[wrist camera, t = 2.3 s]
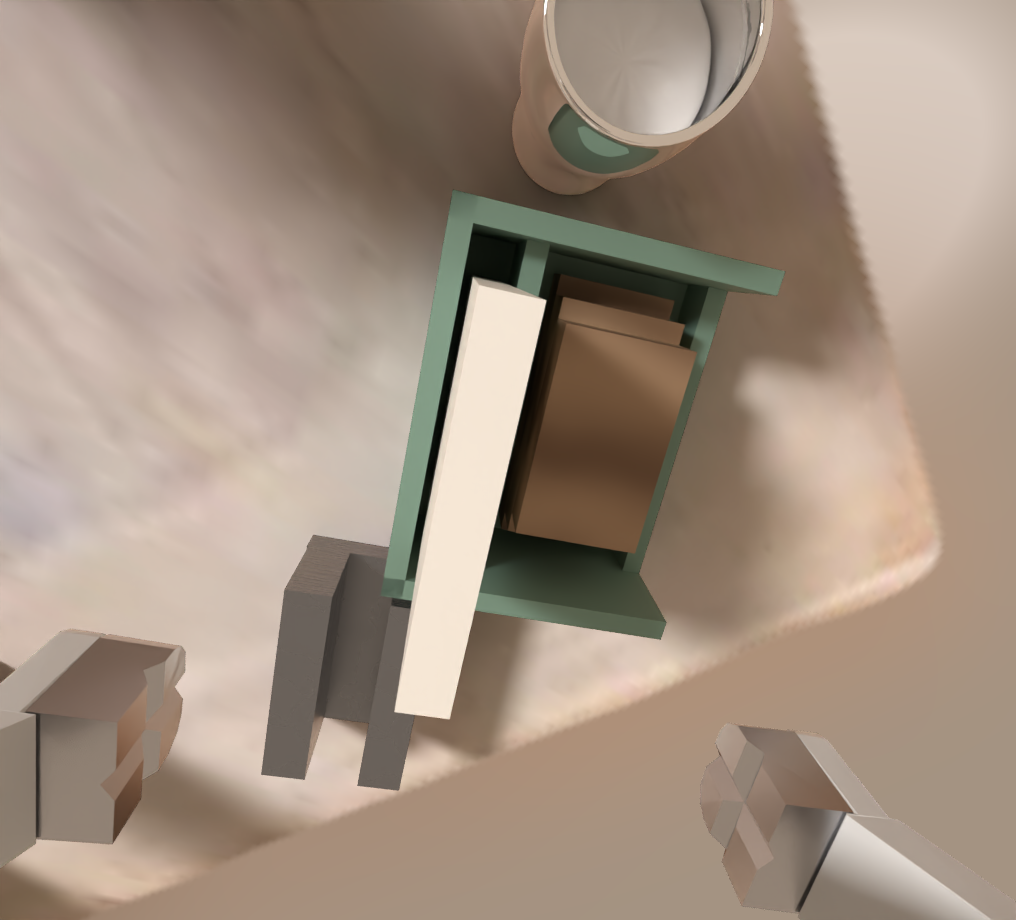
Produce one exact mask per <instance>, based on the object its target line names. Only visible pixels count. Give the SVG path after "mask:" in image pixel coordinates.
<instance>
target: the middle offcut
mask: <svg viewBox="0 0 1016 920" xmlns="http://www.w3.org/2000/svg"><path fill="white" fill-rule="evenodd" d="M558 319H563V320H567V321H572V322H576V323H581V324H585V325H590V326H594V327H599V328H603V329H607V330H612V331H616V332H621V333H625V334H630V335H634V336H639V337H643V338H648V339H652V340H657V341H661V342H666V343H670V344H675V345H679V344H680V340H681V337H682V334H683V330H684V327H685V325H684V324H681V323H677V322H673V321H669V320H665V319H661V318H656V317H652V316H648V315H643V314H639V313H634V312H630V311H626V310H621V309H617V308H613V307H608V306H604V305H599V304H595V303H591V302H586V301H582V300H578V299H573V298H569V297H565V296H560V295H556V297H555V302H554V306H553V310H552V314H551V319H550V323H549V327H548V331H547V336H546V340H545V344H544V348H543V353H542V357H541V361H540V365H539V370H538V374H537V378H536V382H535V387H534V391H533V395H532V399H531V404H530V408H529V412H528V416H527V421H526V425H525V429H524V433H523V438H522V442H521V446H520V451H519V455H518V459H517V463H516V468H515V472H514V476H513V480H512V485H511V489H510V493H509V497H508V502H507V506H506V510H505V517H506V523H507V529H508V531H512V532H515V527H514V522H513V516H512V511H513V507H514V502H515V498H516V494H517V490H518V486H519V481H520V477H521V473H522V469H523V465H524V461H525V456H526V452H527V448H528V444H529V440H530V435H531V431H532V427H533V423H534V419H535V414H536V410H537V406H538V402H539V398H540V394H541V389H542V385H543V381H544V377H545V373H546V368H547V364H548V360H549V356H550V352H551V348H552V343H553V339H554V335H555V331H556V327H557V322H558Z"/></svg>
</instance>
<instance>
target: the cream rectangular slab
mask: <svg viewBox="0 0 1016 920" xmlns="http://www.w3.org/2000/svg"><path fill="white" fill-rule="evenodd" d="M545 304H546V300H544V299H542V298H540V297H537V296H535V295H532V294H530V293H527V292H525V291H523V290H520V289H518V288H515V287H513V286H511V285H508V284H506V283H503V282H501V281H497V280H492V279H488V278H484V277H479V276H475V275H471V279H470V284H469V289H468V294H467V299H466V304H465V310H464V315H463V320H462V325H461V330H460V335H459V341H458V346H457V351H456V356H455V361H454V366H453V372H452V377H451V382H450V387H449V392H448V397H447V403H446V408H445V413H444V418H443V423H442V428H441V434H440V439H439V444H438V449H437V454H436V459H435V464H434V470H433V475H432V480H431V485H430V492H429V498H428V504H427V510H426V517H425V523H424V529H423V535H422V542H421V548H420V554H419V561H418V567H417V573H416V579H415V586H414V592H413V598H412V604H411V611H410V617H409V623H408V629H407V636H406V642H405V648H404V654H403V661H402V667H401V673H400V680H399V686H398V692H397V698H396V705H395V711H394V712H398V713H405V714H413V715H420V716H428V717H436V718H443V719H450V715H451V711H452V707H453V702H454V698H455V694H456V689H457V685H458V681H459V676H460V672H461V668H462V663H463V659H464V655H465V650H466V646H467V642H468V637H469V633H470V629H471V624H472V620H473V616H474V611H475V607H476V603H477V598H478V594H479V590H480V586H481V581H482V577H483V573H484V568H485V564H486V560H487V555H488V551H489V547H490V542H491V538H492V534H493V529H494V525H495V521H496V516H497V512H498V508H499V503H500V499H501V495H502V490H503V486H504V482H505V477H506V473H507V469H508V464H509V460H510V456H511V451H512V447H513V443H514V438H515V434H516V430H517V426H518V421H519V417H520V413H521V408H522V404H523V400H524V395H525V391H526V387H527V382H528V378H529V374H530V369H531V365H532V361H533V356H534V352H535V348H536V343H537V339H538V335H539V330H540V326H541V322H542V317H543V313H544V309H545Z"/></svg>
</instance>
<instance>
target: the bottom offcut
mask: <svg viewBox="0 0 1016 920" xmlns="http://www.w3.org/2000/svg"><path fill="white" fill-rule="evenodd" d="M556 295H560V296H565V297H569V298H573V299H578V300H582V301H586V302H591V303H595V304H599V305H604V306H608V307H613V308H617V309H621V310H626V311H630V312H634V313H639V314H643V315H648V316H652V317H656V318H661V319H665V320H669V318H670V315H671V312H672V308H673V305H674V300H669V299H665V298H661V297H657V296H652V295H648V294H644V293H639V292H635V291H631V290H627V289H622V288H618V287H614V286H610V285H605V284H601V283H597V282H592V281H588V280H584V279H580V278H575V277H571V276H567V275H562V274H554V277H553V281H552V285H551V290H550V294H549V298H548V302H547V307H546V311H545V315H544V320H543V324H542V328H541V333H540V337H539V341H538V346H537V350H536V354H535V358H534V363H533V367H532V371H531V376H530V380H529V384H528V389H527V393H526V397H525V402H524V406H523V410H522V415H521V419H520V423H519V427H518V432H517V436H516V440H515V445H514V449H513V453H512V458H511V462H510V466H509V471H508V475H507V479H506V484H505V488H504V492H503V496H502V501H501V505H500V509H499V518H500V525H501V529H504V530H508V529H507V523H506V517H505V510H506V506H507V502H508V497H509V493H510V489H511V485H512V480H513V476H514V472H515V468H516V463H517V459H518V455H519V451H520V446H521V442H522V438H523V433H524V429H525V425H526V421H527V416H528V412H529V408H530V404H531V399H532V395H533V391H534V387H535V382H536V378H537V374H538V370H539V365H540V361H541V357H542V353H543V348H544V344H545V340H546V336H547V331H548V327H549V323H550V319H551V314H552V310H553V306H554V302H555V297H556Z"/></svg>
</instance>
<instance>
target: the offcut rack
mask: <svg viewBox="0 0 1016 920" xmlns="http://www.w3.org/2000/svg"><path fill="white" fill-rule="evenodd" d="M554 274H562V275H567V276H571V277H575V278H580V279H584V280H588V281H592V282H597V283H601V284H605V285H610V286H614V287H618V288H622V289H627V290H631V291H635V292H639V293H644V294H648V295H652V296H657V297H661V298H665V299H669V300H674V305H673V308H672V312H671V315H670V318H669V321H673V322H677V323H681V324H684V325H685V327H684V330H683V334H682V337H681V340H680V344H679V346H682V347H684V348H687V349H690V350H692V351H695V352H697V355H696V358H695V361H694V364H693V367H692V371H691V374H690V377H689V380H688V384H687V387H686V390H685V393H684V397H683V400H682V403H681V406H680V409H679V413H678V416H677V419H676V422H675V426H674V429H673V432H672V435H671V439H670V442H669V445H668V448H667V452H666V455H665V458H664V461H663V464H662V468H661V471H660V474H659V477H658V481H657V484H656V487H655V490H654V494H653V497H652V500H651V503H650V506H649V510H648V513H647V516H646V519H645V523H644V526H643V529H642V532H641V536H640V539H639V542H638V545H637V548H636V552H635V554H634V553H629V552H623V551H617V550H611V549H606V548H600V547H594V546H588V545H583V544H577V543H571V542H566V541H560V540H554V539H548V538H543V537H537V536H531V535H525V534H520V533H516V532H512V531H508V530H504V529H501V525H500V518H499V509H500V505H501V501H502V496H503V492H504V488H505V484H506V479H507V475H508V471H509V466H510V462H511V458H512V453H513V449H514V445H515V440H516V436H517V432H518V427H519V423H520V419H521V415H522V410H523V406H524V402H525V397H526V393H527V389H528V384H529V380H530V376H531V371H532V367H533V363H534V358H535V354H536V350H537V346H538V341H539V337H540V333H541V328H542V324H543V320H544V315H545V311H546V307H547V302H548V298H549V294H550V290H551V285H552V281H553V277H554ZM784 274H785V271H781V270H777V269H773V268H769V267H765V266H761V265H757V264H753V263H749V262H745V261H741V260H737V259H733V258H729V257H725V256H720V255H716V254H712V253H708V252H704V251H700V250H696V249H692V248H688V247H684V246H680V245H676V244H672V243H668V242H664V241H660V240H656V239H652V238H647V237H643V236H639V235H635V234H631V233H627V232H623V231H619V230H615V229H611V228H607V227H603V226H599V225H595V224H591V223H587V222H583V221H578V220H574V219H570V218H566V217H562V216H558V215H554V214H550V213H546V212H542V211H538V210H534V209H530V208H526V207H522V206H518V205H514V204H510V203H505V202H501V201H497V200H493V199H489V198H485V197H481V196H477V195H473V194H469V193H465V192H461V191H457V190H453V192H452V198H451V203H450V209H449V214H448V220H447V226H446V231H445V237H444V242H443V248H442V254H441V259H440V265H439V271H438V276H437V282H436V287H435V293H434V299H433V304H432V310H431V315H430V321H429V327H428V332H427V338H426V343H425V349H424V355H423V360H422V366H421V372H420V377H419V383H418V388H417V394H416V400H415V405H414V411H413V416H412V422H411V428H410V433H409V439H408V444H407V450H406V456H405V461H404V467H403V473H402V478H401V484H400V489H399V495H398V501H397V506H396V512H395V517H394V523H393V529H392V534H391V540H390V545H389V551H388V557H387V562H386V568H385V574H384V579H383V585H382V590H381V596H385V597H391V598H398V599H404V600H410V601H412V598H413V592H414V586H415V579H416V573H417V567H418V561H419V554H420V548H421V542H422V535H423V529H424V523H425V517H426V510H427V504H428V498H429V492H430V485H431V480H432V475H433V470H434V464H435V459H436V454H437V449H438V444H439V439H440V434H441V428H442V423H443V418H444V413H445V408H446V403H447V397H448V392H449V387H450V382H451V377H452V372H453V366H454V361H455V356H456V351H457V346H458V341H459V335H460V330H461V325H462V320H463V315H464V310H465V304H466V299H467V294H468V289H469V284H470V279H471V275H475V276H479V277H484V278H488V279H492V280H497V281H501V282H503V283H506V284H508V285H511V286H513V287H515V288H518V289H520V290H523V291H525V292H527V293H530V294H532V295H535V296H537V297H540V298H542V299H544V300H546V304H545V309H544V313H543V317H542V322H541V326H540V330H539V335H538V339H537V343H536V348H535V352H534V356H533V361H532V365H531V369H530V374H529V378H528V382H527V387H526V391H525V395H524V400H523V404H522V408H521V413H520V417H519V421H518V426H517V430H516V434H515V438H514V443H513V447H512V451H511V456H510V460H509V464H508V469H507V473H506V477H505V482H504V486H503V490H502V495H501V499H500V503H499V508H498V512H497V516H496V521H495V525H494V529H493V534H492V538H491V542H490V547H489V551H488V555H487V560H486V564H485V568H484V573H483V577H482V581H481V586H480V590H479V594H478V598H477V603H476V607H475V611H481V612H487V613H494V614H500V615H506V616H513V617H519V618H526V619H532V620H538V621H545V622H551V623H558V624H564V625H570V626H577V627H583V628H590V629H596V630H602V631H609V632H615V633H622V634H628V635H634V636H641V637H647V638H654V639H660V640H661V637H662V634H663V631H664V628H665V626H666V623H667V622H666V621H665V619H664V617H663V615H662V614H661V612H660V610H659V608H658V607H657V605H656V603H655V601H654V599H653V598H652V596H651V594H650V592H649V591H648V589H647V587H646V585H645V584H644V582H643V580H642V578H641V576H640V575H639V572H640V569H641V565H642V562H643V559H644V556H645V553H646V550H647V546H648V543H649V540H650V537H651V534H652V530H653V527H654V524H655V521H656V518H657V515H658V511H659V508H660V505H661V502H662V499H663V496H664V492H665V489H666V486H667V483H668V480H669V476H670V473H671V470H672V467H673V464H674V461H675V457H676V454H677V451H678V448H679V445H680V442H681V438H682V435H683V432H684V429H685V426H686V422H687V419H688V416H689V413H690V410H691V407H692V403H693V400H694V397H695V394H696V391H697V388H698V384H699V381H700V378H701V375H702V372H703V368H704V365H705V362H706V359H707V356H708V353H709V349H710V346H711V343H712V340H713V337H714V334H715V330H716V327H717V324H718V321H719V318H720V314H721V311H722V308H723V305H724V302H725V299H726V295H727V292H728V291H731V292H741V293H752V294H763V295H773V296H777V295H778V292H779V289H780V286H781V283H782V280H783V277H784Z"/></svg>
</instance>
